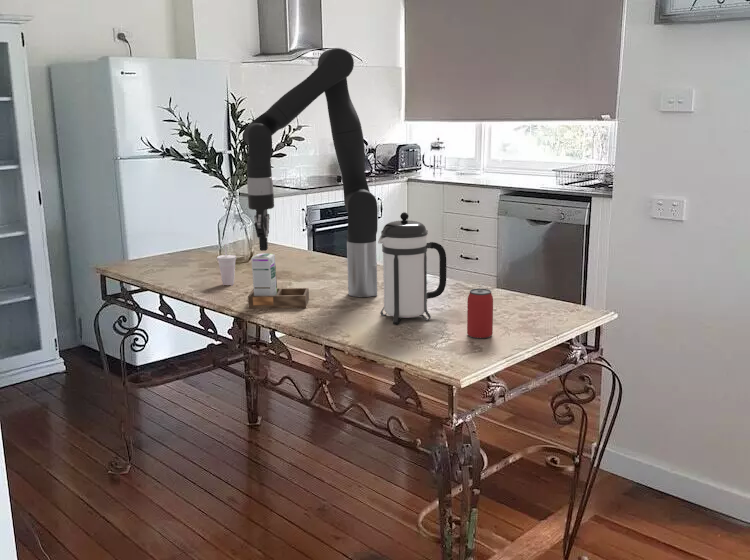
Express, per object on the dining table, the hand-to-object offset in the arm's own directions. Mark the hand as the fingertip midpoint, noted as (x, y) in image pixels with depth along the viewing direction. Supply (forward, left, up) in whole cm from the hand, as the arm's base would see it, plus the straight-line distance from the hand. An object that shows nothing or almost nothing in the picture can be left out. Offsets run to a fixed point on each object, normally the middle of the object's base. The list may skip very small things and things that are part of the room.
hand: (263, 250), depth 227 cm
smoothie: (+17, -26, -17) cm, 35 cm away
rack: (-4, 0, -17) cm, 17 cm away
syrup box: (0, 0, -16) cm, 16 cm away
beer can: (-61, +33, -17) cm, 71 cm away
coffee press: (-43, +15, -17) cm, 49 cm away
